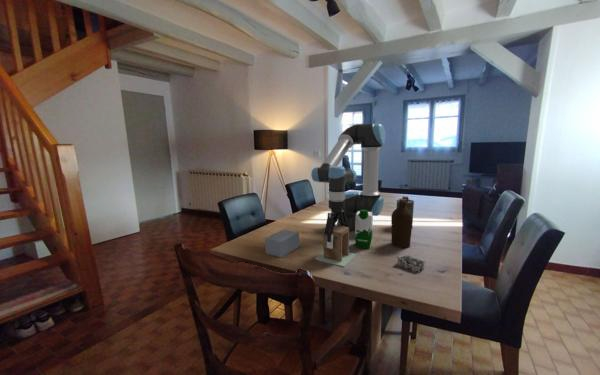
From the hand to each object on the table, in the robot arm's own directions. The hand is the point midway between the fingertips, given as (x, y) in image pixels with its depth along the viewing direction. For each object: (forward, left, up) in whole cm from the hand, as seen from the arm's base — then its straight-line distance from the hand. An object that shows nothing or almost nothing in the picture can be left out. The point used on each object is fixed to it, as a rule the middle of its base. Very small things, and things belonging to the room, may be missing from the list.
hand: (336, 243), depth 128 cm
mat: (0, 0, -7) cm, 7 cm away
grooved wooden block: (+4, -4, -5) cm, 8 cm away
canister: (-54, -37, -7) cm, 66 cm away
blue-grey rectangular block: (+25, -13, -7) cm, 29 cm away
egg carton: (-30, +14, -8) cm, 34 cm away
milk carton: (-18, -12, -7) cm, 23 cm away
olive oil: (-38, -10, -7) cm, 40 cm away
